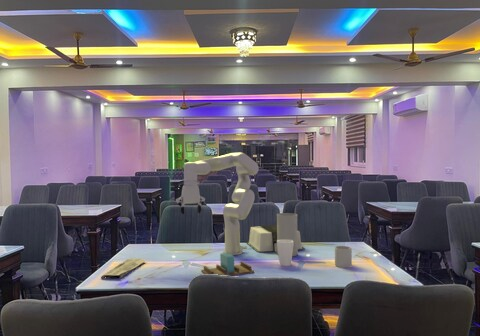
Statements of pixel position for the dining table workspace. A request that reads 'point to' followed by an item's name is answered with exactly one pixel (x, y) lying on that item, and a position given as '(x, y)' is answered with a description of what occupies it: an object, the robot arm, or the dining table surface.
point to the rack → (219, 270)
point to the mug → (343, 256)
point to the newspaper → (124, 268)
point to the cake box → (266, 239)
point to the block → (227, 262)
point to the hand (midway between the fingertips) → (191, 213)
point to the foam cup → (285, 251)
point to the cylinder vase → (288, 229)
